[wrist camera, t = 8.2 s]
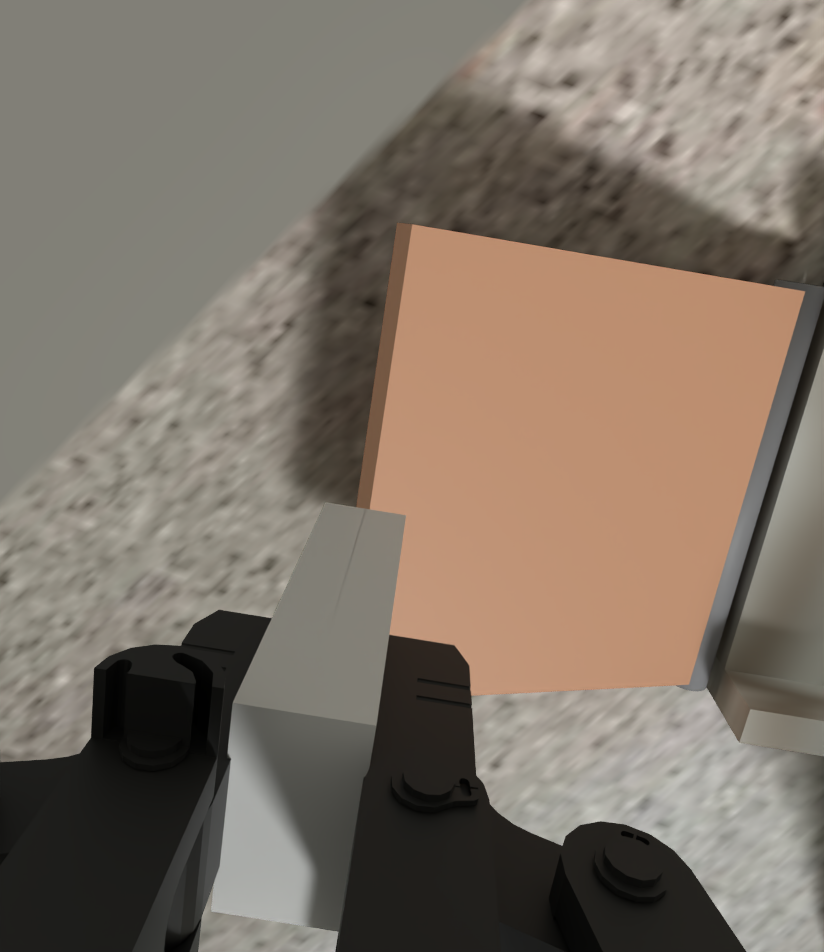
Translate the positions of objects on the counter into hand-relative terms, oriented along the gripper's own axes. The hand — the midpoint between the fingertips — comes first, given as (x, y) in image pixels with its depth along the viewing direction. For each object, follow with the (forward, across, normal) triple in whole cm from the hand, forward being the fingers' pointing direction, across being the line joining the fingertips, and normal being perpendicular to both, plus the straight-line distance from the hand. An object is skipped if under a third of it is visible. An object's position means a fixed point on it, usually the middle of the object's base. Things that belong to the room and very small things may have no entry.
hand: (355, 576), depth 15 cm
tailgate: (+10, -11, 0) cm, 15 cm away
